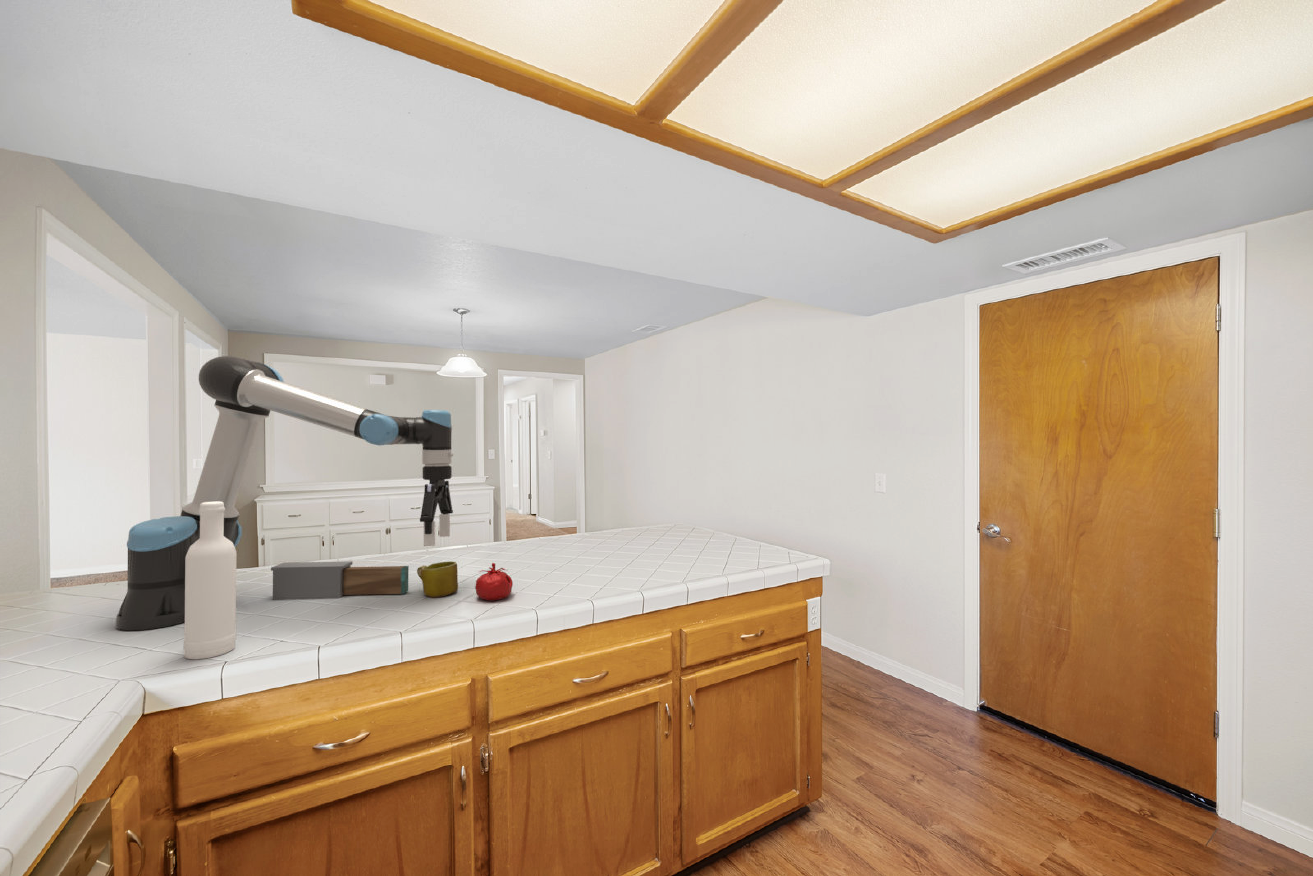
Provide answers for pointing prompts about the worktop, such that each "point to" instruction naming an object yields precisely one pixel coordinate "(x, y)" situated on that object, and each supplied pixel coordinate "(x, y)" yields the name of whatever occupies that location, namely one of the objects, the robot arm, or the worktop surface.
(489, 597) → the pomegranate
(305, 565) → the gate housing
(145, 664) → the worktop surface
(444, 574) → the mug
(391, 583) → the gate
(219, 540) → the bottle
